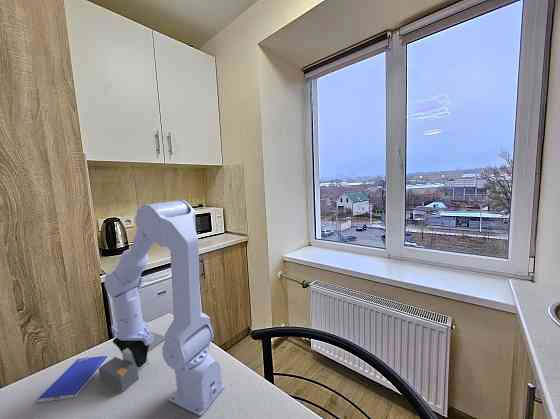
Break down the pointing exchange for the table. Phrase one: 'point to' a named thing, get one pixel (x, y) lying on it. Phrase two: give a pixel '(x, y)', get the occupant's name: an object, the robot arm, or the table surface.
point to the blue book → (73, 379)
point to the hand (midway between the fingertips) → (136, 362)
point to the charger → (132, 358)
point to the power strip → (119, 374)
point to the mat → (156, 340)
